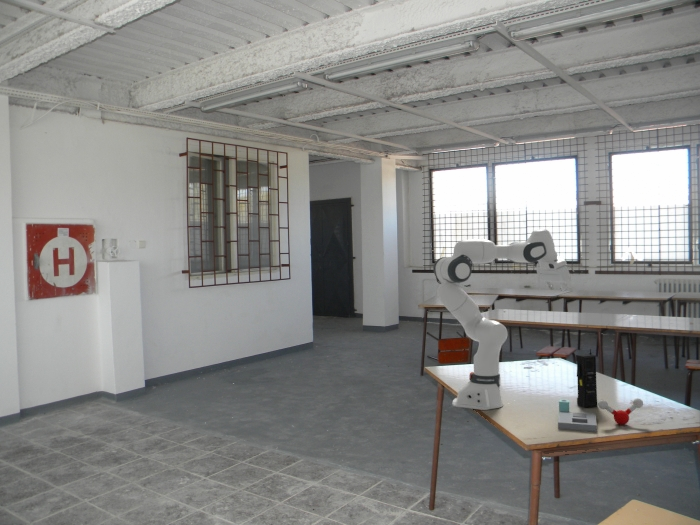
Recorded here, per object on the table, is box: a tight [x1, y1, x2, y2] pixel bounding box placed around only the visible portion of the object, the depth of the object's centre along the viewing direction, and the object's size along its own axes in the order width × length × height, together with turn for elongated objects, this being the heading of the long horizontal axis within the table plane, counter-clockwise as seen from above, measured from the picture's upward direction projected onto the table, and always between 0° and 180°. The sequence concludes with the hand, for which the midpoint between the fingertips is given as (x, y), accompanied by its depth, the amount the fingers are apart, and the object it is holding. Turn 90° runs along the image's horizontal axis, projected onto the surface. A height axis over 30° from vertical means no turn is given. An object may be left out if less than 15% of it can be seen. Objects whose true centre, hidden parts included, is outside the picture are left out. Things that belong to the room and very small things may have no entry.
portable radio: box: [575, 348, 598, 409], centre depth 259 cm, size 8×6×25 cm
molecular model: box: [597, 398, 644, 426], centre depth 233 cm, size 18×6×10 cm, turn 89°
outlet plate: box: [557, 410, 598, 433], centre depth 235 cm, size 14×16×3 cm
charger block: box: [558, 398, 570, 412], centre depth 248 cm, size 4×4×6 cm
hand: (557, 290), depth 275 cm, fingers open, 8 cm apart
